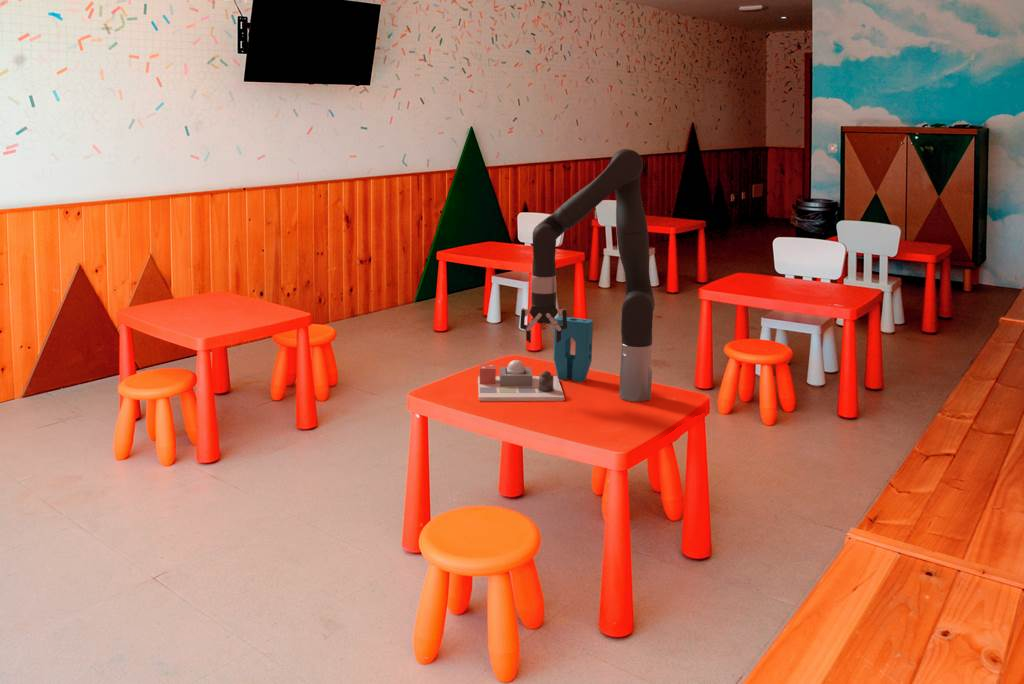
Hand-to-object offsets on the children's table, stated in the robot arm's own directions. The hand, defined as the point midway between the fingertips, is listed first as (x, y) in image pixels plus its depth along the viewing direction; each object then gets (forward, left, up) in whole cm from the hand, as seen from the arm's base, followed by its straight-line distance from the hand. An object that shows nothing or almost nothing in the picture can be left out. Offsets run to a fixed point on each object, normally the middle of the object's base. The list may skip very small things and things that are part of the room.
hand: (543, 342), depth 277 cm
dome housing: (+8, -10, -16) cm, 20 cm away
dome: (+8, -10, -14) cm, 19 cm away
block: (-11, -17, -17) cm, 26 cm away
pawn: (-1, -1, -16) cm, 16 cm away
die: (+17, -10, -16) cm, 25 cm away
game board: (+7, -5, -17) cm, 19 cm away
